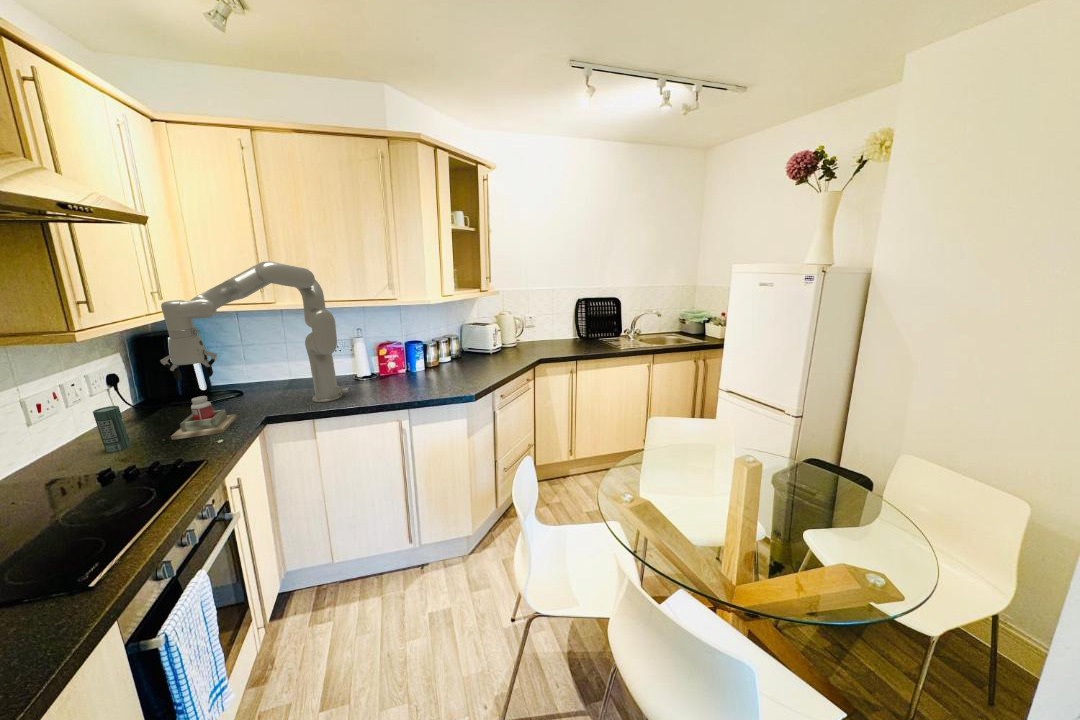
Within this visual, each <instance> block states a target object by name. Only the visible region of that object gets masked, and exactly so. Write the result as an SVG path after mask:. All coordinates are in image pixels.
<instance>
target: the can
mask: <svg viewBox="0 0 1080 720" xmlns="http://www.w3.org/2000/svg"><path fill="white" fill-rule="evenodd" d="M92 414H93V417H94V420H95V424H96V426H97V429H98V433H99V436H100V439H101V442H102V445H103V448H104V451H105V453H110V454H111V452H112V453H116V452H117V453H118V452H120V451H123V450H126V449H129V448H130V447H131V446H132V445H131V441H130V438H129V435H128V432H127V429H126V425H125V422H124V419H123V415H122V412H121V410H120V407H119V406H118V405H109V406H105V407H101V408H97V409H95V410H92Z"/></svg>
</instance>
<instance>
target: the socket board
mask: <svg viewBox="0 0 1080 720" xmlns="http://www.w3.org/2000/svg"><path fill="white" fill-rule="evenodd" d="M213 413H214V417H213V418H210V419H203V420H195V421H194V417H193V414H192V413H191V414H190V415H189V416H187V417H186V418H184V420H183V421H182V422H180V423H179V426H180V428H179V429H177V430H176V431H175V432H174V433H173V434H172V435H170V438H171V440H172V441H173V440H179V439H181V440H182V439H187V438H194V437H200V436H208V435H209V436H210V435H214V434H215V435H216V434H222V433H224V432H225V431H226V430H227V429H228V428H229V427H230V426H231V425H232V424H233V423H234V422H235V420H237V418H238V415H237V414H234V413H233V414H228V415H227V412H226V409H225V408H224V409H216V410H213ZM232 422H233V423H232ZM231 423H232V424H231ZM230 424H231V425H230Z"/></svg>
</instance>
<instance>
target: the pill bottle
mask: <svg viewBox="0 0 1080 720" xmlns="http://www.w3.org/2000/svg"><path fill="white" fill-rule="evenodd" d="M191 403H192V404H191V406H190V410H191V414H193V417H194V421H195V420H203V419H210V418H213V417H214V413H213V411H214V410H213V407H212V403H211V401H208V396H206V395H202V396H201V395H200V396H197V397H193V398H191Z"/></svg>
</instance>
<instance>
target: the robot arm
mask: <svg viewBox="0 0 1080 720" xmlns="http://www.w3.org/2000/svg"><path fill="white" fill-rule="evenodd" d="M271 284H273V285H274V284H275V285H278V286H285V287H291V288H296V289H297V290H298V292H299V293H300V295H301V298H302V302H303V303H302V304H303V313H304V322H305V324H306V326H308V327H309V328H311V330H312V331H311V332H310V333H308V334H307V335H306V337H305V340H304V345H305V350H306V353H307V356H308V361H309V365H310V370H311V377H312V382H313V388H314V395H313V397H312V398H311V400H312V402H315V403H326V402H327V403H328V402H332V401H336V400H338V399H340V398H342V397H343V394H345V393H346V394H347V393H349V388H348V387H341V388H340V386H339V385H338V382H337V377H336V376H337V375H336V371H335V363H334V358H333V357H334V356H333V353H334V352H335V351H336V349H337V346H338V337H337V327H336V326H337V325H336V321H335V317H334V315H333V314H332V312H330V311H329V310H328V309H327V307H326V303H325V302H326V301H325V295H324V291H323V288H322V287H321V285H320V283H319V282H318V281H317V280H316V277H315V275H314V272H312V271H311V270H310V269H308V268H304V267H300V266H299V267H298V266H295V265H289V264H285V263H280V262H275V261H261V262H259V263H257V264H255V265H252V266H251V267H249V268H248V269H247V268H246V269H245V270H243V271H242V272H240V273H238V274H236V275H233V277H230V278H228V279H226V280H224V281H223V282H221V283H219V284H217V285H215V286H214V287H212V288H209V289H207V290H206V291H204V292H202V293H200V294H199V295H197V296H194V297H193V298H191V299H190V300H183V299H182V300H181V299H179V300H168V301H163V302H161V305H160V307H161V311H162V315H163V318H164V322H165V325H166V328H167V333H168V336H169V339H168V353H169V355H167V356H165V357H163V358H162V359H160V360H159V362H160V363H161V364H162V365H163V366H164V368H166V369H169V370H170V371H171V372H172V375H173V378H174V379H175V381H176V382H179V381H181V380H182V379H183V376H182V373H181V368H179V366H187V365H192V364H193V365H194V364H202V365H204V366H205V367H204V370H205V374H206V377H207V378H211V377H212V376H213V374H214V370H213V364H214V363H215V362H216V360H217V358H218V353H215V352H212V351H208V350H207V349H206V345H205V344H204V342H203V340H202V338H201V336H200V335H198V334H200V333H201V331H200V329H196V327H195V326H194V325H195V324H194V322H193V321H194V320H195V319H198V320H199V319H201V320H203V319H210V318H212V317H214V316H215V314H217V310H218V309H220V308H222V307H223V306H226V305H227V304H229V303H232V302H234V301H238V300H242V299H245V298H247V297H249V296H251V295H253V294H254V293H256V292H258V291H260V290H261V289H264V288H265V287H267V286H269V285H271ZM193 319H194V320H193ZM209 357H211V358H210V360H209ZM169 360H170V361H171V362H169Z"/></svg>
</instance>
